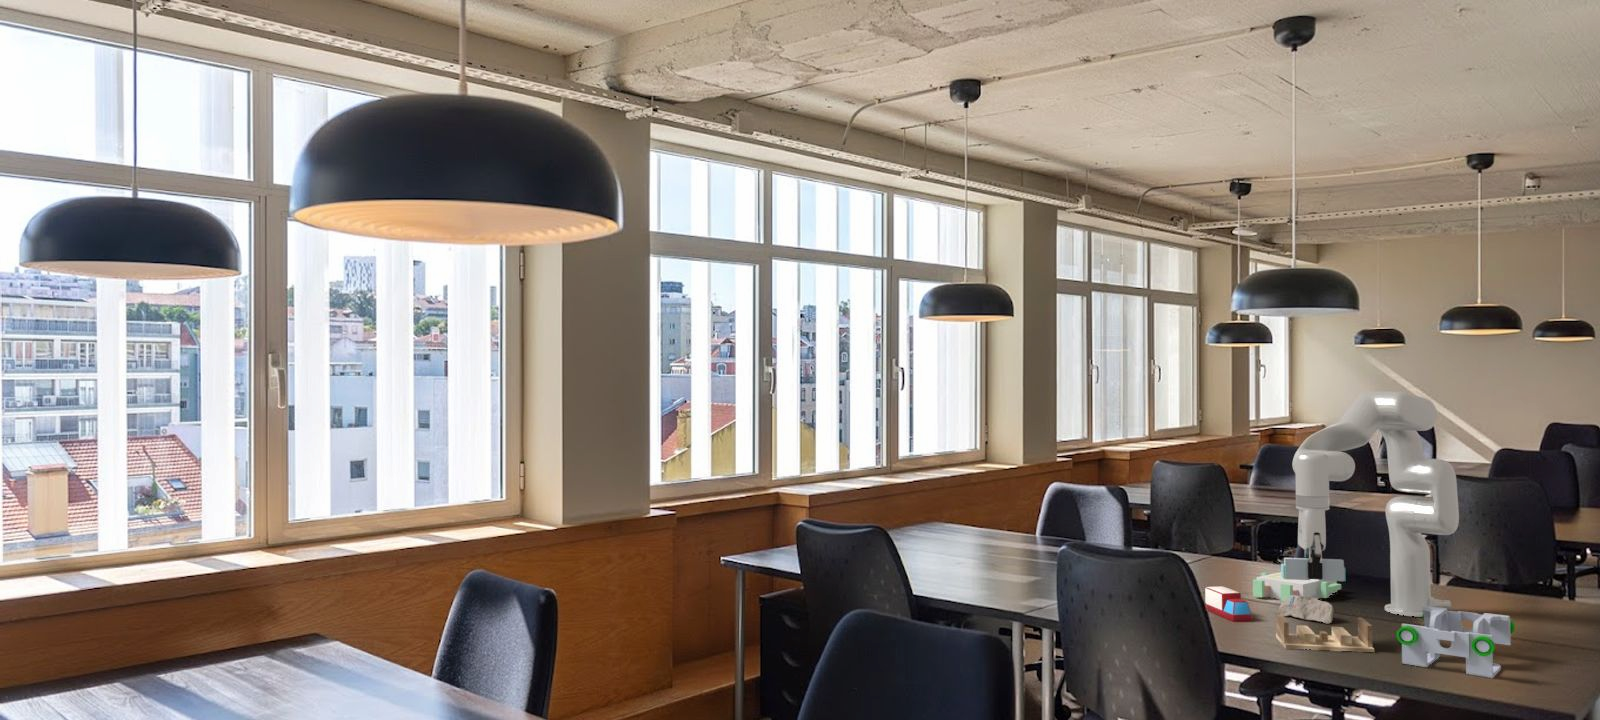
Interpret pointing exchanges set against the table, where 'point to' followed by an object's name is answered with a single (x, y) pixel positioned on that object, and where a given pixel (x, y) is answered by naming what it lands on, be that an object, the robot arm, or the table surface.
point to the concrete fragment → (1307, 609)
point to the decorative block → (1292, 587)
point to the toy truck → (1227, 604)
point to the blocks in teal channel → (1299, 569)
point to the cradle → (1325, 637)
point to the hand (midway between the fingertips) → (1313, 576)
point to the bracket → (1456, 639)
